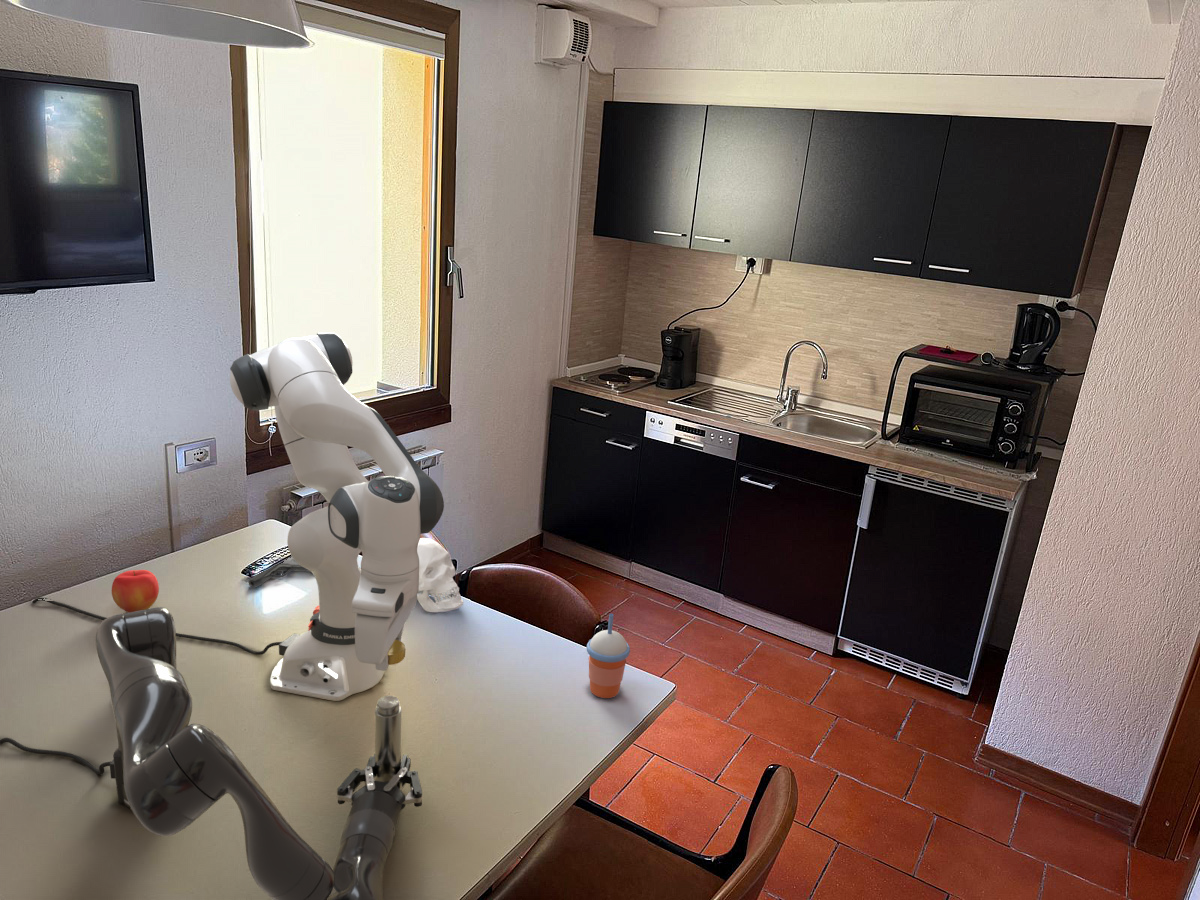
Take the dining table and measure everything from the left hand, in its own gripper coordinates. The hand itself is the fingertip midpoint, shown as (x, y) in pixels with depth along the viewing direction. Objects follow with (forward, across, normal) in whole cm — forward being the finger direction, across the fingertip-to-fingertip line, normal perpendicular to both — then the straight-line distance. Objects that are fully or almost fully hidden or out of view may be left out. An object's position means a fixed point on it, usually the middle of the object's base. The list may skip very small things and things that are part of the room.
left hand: (390, 758), depth 146 cm
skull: (+69, +4, +6) cm, 70 cm away
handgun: (+79, +41, +6) cm, 89 cm away
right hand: (-3, 0, -21) cm, 21 cm away
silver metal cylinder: (-3, 0, +6) cm, 7 cm away
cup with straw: (+33, -39, +6) cm, 51 cm away
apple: (+57, +68, +6) cm, 89 cm away
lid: (-3, 0, -23) cm, 23 cm away
